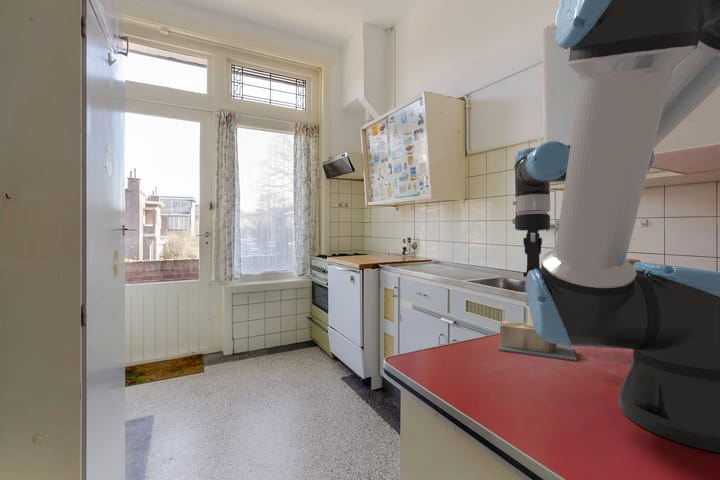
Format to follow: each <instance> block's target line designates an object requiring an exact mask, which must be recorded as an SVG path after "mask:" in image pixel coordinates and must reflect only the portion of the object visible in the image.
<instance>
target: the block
mask: <svg viewBox="0 0 720 480" xmlns="http://www.w3.org/2000/svg"><path fill="white" fill-rule="evenodd" d="M499 330H500V331H499V344H500V346H505V347H512V348H520V349H527V350H535V351H543V352H550V353H556V345H557V344H553V343H548V342H545V341H543V340H542V339H541V338H540V337H539V336H538V334H537V332H536V330H535V328H534V325H533V323H525V322H516V321H504V320H501V321H500V324H499Z"/></svg>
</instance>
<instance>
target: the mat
mask: <svg viewBox="0 0 720 480" xmlns="http://www.w3.org/2000/svg"><path fill="white" fill-rule="evenodd" d="M497 349H498V351H501V352H507V353H514V354H521V355H528V356H535V357H536V356H537V357H541V358H542V357H543V358H544V357H545V358H551V359H558V360H564V361H565V360H566V361H572V362H573V361H574V362H577V361H578V359H577V356H576V354H575V351H574V349H573V346H571V347H569V346H567V345H561V344H556V353H550V352H543V351H535V350H527V349H520V348H512V347H505V346H500V343H499V344H498V348H497Z"/></svg>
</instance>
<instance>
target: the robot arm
mask: <svg viewBox="0 0 720 480" xmlns="http://www.w3.org/2000/svg"><path fill="white" fill-rule="evenodd" d="M555 15H556V16H555V20H554V21H555V22H554V29H555V34H554V40H555V44H556V46H558V47H559V48H563V49H564V50H567V49H569V55H568V56H569V57H568V62H567V65H568V66H569V67H570V68H571V69H572V70H573V71H574V72H575V73H576V74H577V75H578V77H579V79H580V80H579V85H578V91H577V97H576V99H577V100H576V106H575V111H574V112H575V113H574V119H573V125H572V127H573V128H572V133H571V141H570V144H567V145H566V144H565V143H563V142H560V141H556V140H550V141H546V142H544V143H542V144H540V145H538V146H537V147H529V148H524V149H522V150H519V151H518V152H517V153H516V154H515V156H514V157H515V158H514V165H513V166H514V167H513V168H514V188H515V190H514V191H515V192H514V193H515V194H514V195H515V196H514V197H515V200H514V201H512V205H513V206H515V211H514V212H515V213H516V214H517V215H516V216H514V218H515V220H514V222H515V226H514V229H515V230H516V231H523V232H524V231H526V234H525V235H526V237H523V239H522V240H523V246H524V254H526V272H525V271H524V272H523V273H522V274H523V278H526V279H525V280H526V281H525V282H526V283H525V284H526V285H525V289H526V306H527V307H529V313H530V317H531V321H532V324H533V325H534V328H535V330H536V332H537V334H538V336H539V337H540V338H541V339H542V340H543V341H545V342H548V343H553V344H556V345H560V346H568V347H573V346H575V347H576V346H577V347H578V346H579V347H592V348H594V347H595V348H609V349H610V348H611V349H624V350H625V349H626V350H632V362H631V365H629V369H628V371H627V373H626V375H625V377H624V380H623V382H622V384H621V387H620V388H619V391H618V407H619V410H620V411H621V413H622V414H623V415H624V416H625V417H626V418H628V419H629V420H630V421H631V422H633V423H634V424H636V425H638V426H639V427H641V428H643V429H645V430H647V431H649V432H651V433H653V434H655V435H658V436H660V437H663V438H664V439H668V440H670V441H673V442H676V443H679V444H682V445H685V446H687V447H688V446H689V447H693V448H696V449H700V450H703V451H704V450H705V451H709V452H714V453H720V271H715V270H707V269H699V268H692V267H684V266H677V265H669V264H660V263H653V262H643V261H641V262H636V263H634V265H633V266H632V265H631V264H630V263H629V262H628V261H627V260H626V258H628V253H629V252H628V251H629V248H630V244H631V241H632V236H633V233H634V229H635V224H636V221H637V217H638V216H637V215H638V211H639V207H640V203H641V201H642V200H641V199H642V196H643V191H644V187H645V183H646V179H647V175H648V173H649V171H650V170H651V168H650V167H651V166H652V165H653V163H654V159H655V153H654V149H655V148H656V147H657V146H658V145H659V144H660V143H661V142H662V141H663V140H664V139H665V138H666V137H667V136H668V135H669V134H671V133H672V132H673V131H674V130H675V129H676V128H677V127H678V126H679V125H680V124H681V123H682V122H683V121H685V119H686V118H688V116H690V114H691V115H692V113H693V112H694V111H695V110H696V109H697V108H698V107H699V106H700V105H702V103H703V102H704V101H705V100H706V99H708V98H709V97H710V96H711V95H712V94H713V93H714V92H715V91H716V90H717V89H718V88H719V87H720V0H558V5H557V11H556V14H555ZM561 182H564V187H563V193H562V194H563V195H562V200H561V201H562V202H561V208H560V214H559V215H560V216H559V222H558V227H557V229H558V230H557V234H556V241H555V242H556V243H555V248H554V249H552V250H551V251H549V252H546V253H545V254H544V255H543V256H542V257H543V258H542V260H541V264H540V255H541V254H542V245H543V237H540V236H541V235H540V233H539V231H548V230H549V229H551V215H550V214H548V213H550V211H551V192H550V190H551V188H550V187H551V184H550V183H561ZM540 265H541V267H540Z"/></svg>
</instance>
